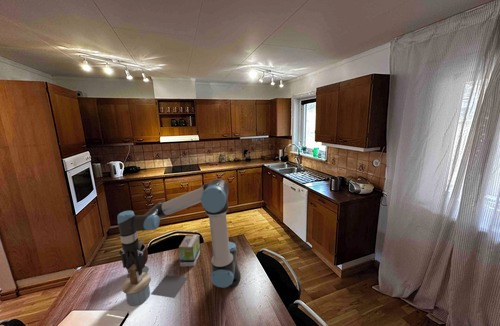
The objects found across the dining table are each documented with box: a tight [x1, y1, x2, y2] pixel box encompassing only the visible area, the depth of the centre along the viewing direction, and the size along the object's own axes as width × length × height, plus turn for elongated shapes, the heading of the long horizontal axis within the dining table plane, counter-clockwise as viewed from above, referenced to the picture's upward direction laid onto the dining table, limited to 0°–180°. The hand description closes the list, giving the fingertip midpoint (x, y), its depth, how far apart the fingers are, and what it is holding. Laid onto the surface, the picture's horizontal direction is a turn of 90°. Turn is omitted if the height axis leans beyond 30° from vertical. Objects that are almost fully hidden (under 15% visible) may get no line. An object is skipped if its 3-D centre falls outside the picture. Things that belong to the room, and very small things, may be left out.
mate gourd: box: [127, 237, 150, 279], centre depth 131 cm, size 16×14×20 cm
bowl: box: [125, 283, 151, 307], centre depth 112 cm, size 11×11×8 cm
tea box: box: [178, 234, 201, 267], centre depth 142 cm, size 15×10×15 cm, turn 179°
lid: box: [121, 264, 152, 295], centre depth 110 cm, size 14×14×10 cm
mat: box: [150, 274, 189, 299], centre depth 120 cm, size 15×15×1 cm
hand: (136, 279), depth 110 cm, fingers closed on lid, 4 cm apart
